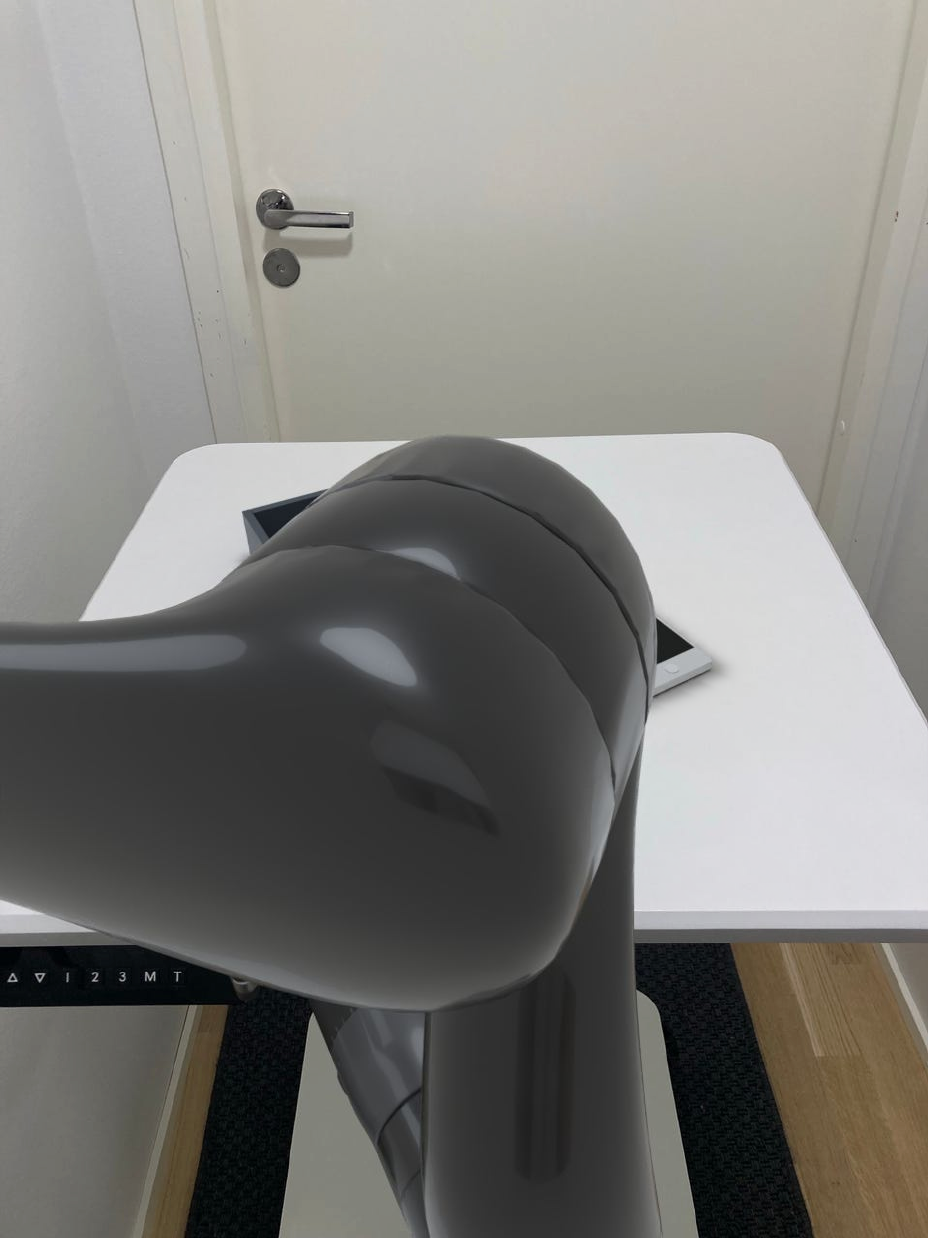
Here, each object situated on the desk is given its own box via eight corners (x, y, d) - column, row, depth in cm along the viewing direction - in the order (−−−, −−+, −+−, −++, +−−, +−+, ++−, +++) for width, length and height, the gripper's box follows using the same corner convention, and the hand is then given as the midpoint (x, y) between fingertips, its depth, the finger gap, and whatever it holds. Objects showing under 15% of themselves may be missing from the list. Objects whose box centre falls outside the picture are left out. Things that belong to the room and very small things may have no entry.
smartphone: (643, 701, 75) (644, 691, 74) (529, 601, 86) (529, 592, 85) (713, 668, 78) (714, 658, 77) (594, 575, 88) (594, 567, 88)
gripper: (535, 924, 48) (401, 721, 59) (252, 1054, 43) (167, 805, 54) (533, 1009, 52) (409, 805, 64) (277, 1135, 47) (194, 889, 59)
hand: (298, 805), depth 59 cm, fingers open, 8 cm apart
